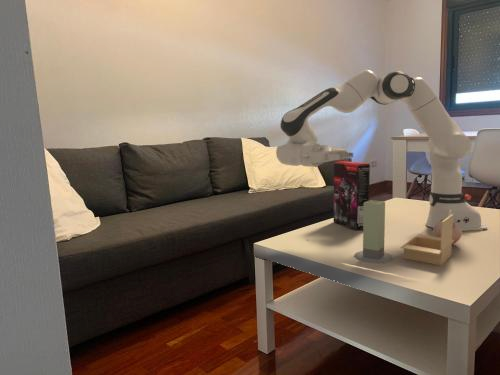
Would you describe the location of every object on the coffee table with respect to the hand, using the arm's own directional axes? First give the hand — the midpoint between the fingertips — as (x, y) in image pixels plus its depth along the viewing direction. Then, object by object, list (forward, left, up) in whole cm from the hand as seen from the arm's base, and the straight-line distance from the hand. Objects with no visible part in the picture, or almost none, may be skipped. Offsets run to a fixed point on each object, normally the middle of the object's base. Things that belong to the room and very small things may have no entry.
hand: (346, 156), depth 142 cm
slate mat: (-6, +17, -32) cm, 37 cm away
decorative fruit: (-34, +4, -32) cm, 47 cm away
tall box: (-6, +17, -31) cm, 36 cm away
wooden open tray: (-23, +17, -32) cm, 43 cm away
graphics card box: (-5, -25, -32) cm, 41 cm away
